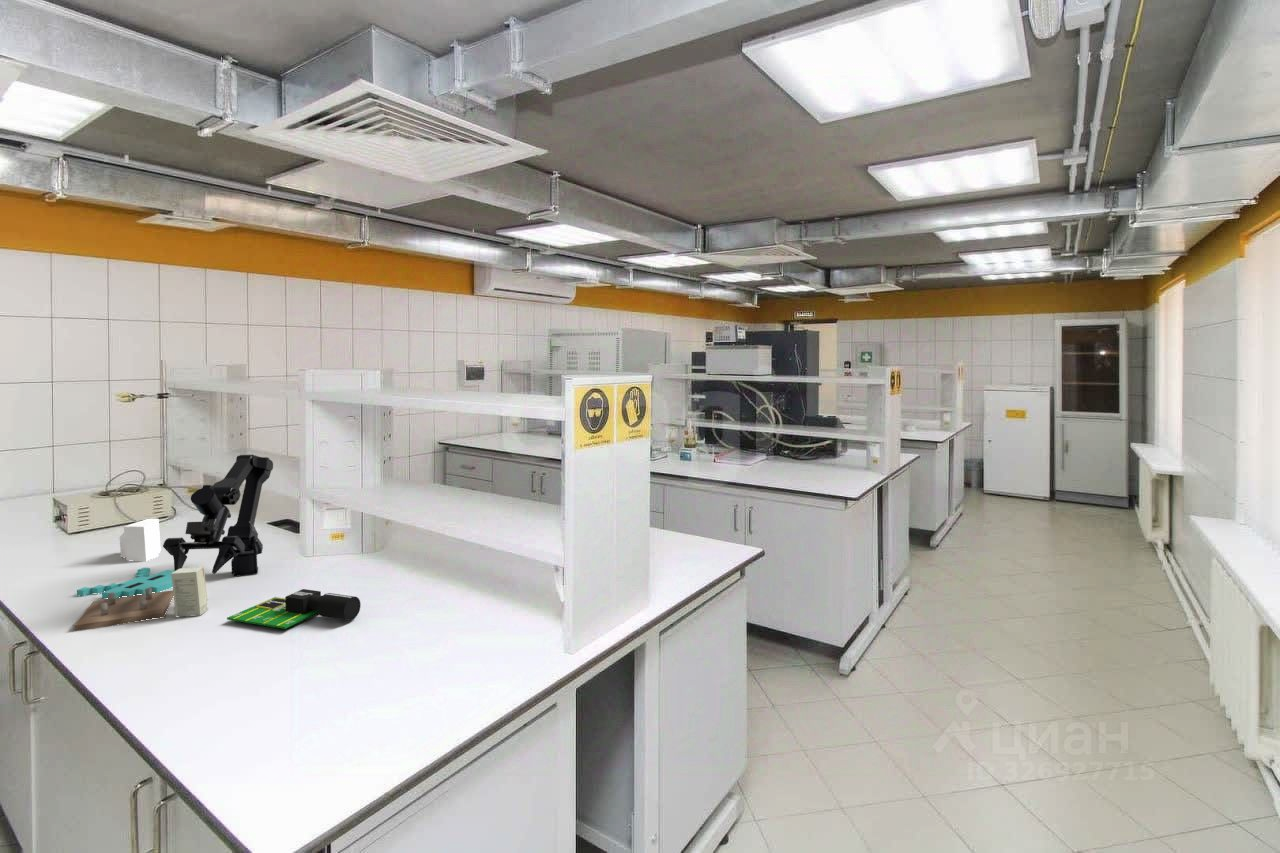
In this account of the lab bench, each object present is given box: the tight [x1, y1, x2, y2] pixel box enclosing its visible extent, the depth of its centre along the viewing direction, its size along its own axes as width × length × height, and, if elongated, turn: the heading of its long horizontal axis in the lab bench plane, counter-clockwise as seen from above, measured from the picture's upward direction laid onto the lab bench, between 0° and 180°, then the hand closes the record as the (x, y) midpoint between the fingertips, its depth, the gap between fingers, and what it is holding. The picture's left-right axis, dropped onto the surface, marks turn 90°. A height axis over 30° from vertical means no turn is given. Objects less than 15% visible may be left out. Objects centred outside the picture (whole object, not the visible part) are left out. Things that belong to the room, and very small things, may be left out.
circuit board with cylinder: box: [226, 588, 361, 630], centre depth 166 cm, size 30×7×15 cm
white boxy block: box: [118, 518, 162, 562], centre depth 216 cm, size 11×11×12 cm
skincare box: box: [171, 566, 209, 617], centre depth 169 cm, size 6×4×12 cm
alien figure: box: [76, 567, 174, 598], centre depth 188 cm, size 20×2×20 cm
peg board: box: [73, 588, 174, 632], centre depth 170 cm, size 18×18×4 cm
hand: (194, 573), depth 171 cm, fingers open, 9 cm apart
